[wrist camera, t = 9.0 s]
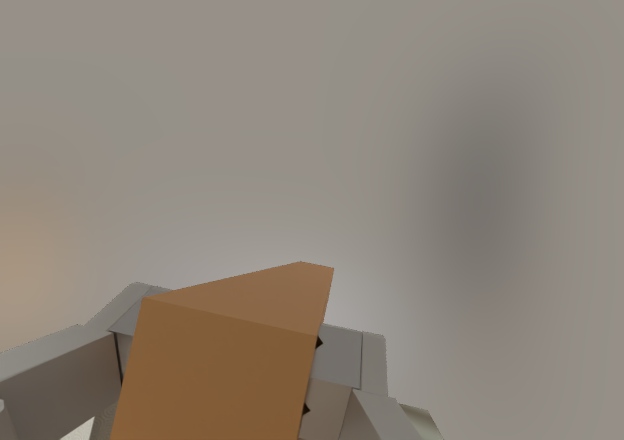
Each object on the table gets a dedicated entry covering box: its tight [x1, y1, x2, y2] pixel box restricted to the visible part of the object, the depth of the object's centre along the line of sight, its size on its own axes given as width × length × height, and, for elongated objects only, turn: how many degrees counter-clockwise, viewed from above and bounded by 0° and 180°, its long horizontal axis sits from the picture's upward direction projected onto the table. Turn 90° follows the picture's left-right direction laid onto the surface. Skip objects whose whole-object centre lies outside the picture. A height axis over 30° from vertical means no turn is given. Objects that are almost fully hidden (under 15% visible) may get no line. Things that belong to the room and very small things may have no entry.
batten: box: [109, 262, 334, 440], centre depth 18 cm, size 25×3×2 cm, turn 175°
